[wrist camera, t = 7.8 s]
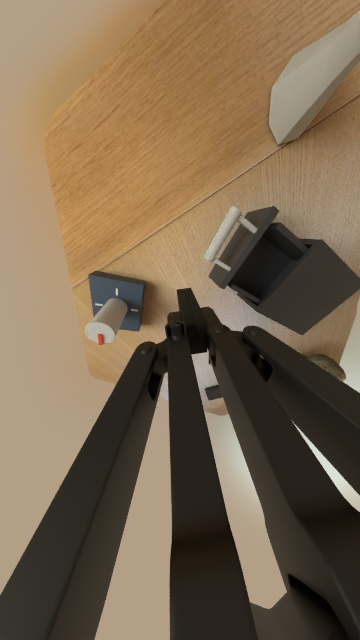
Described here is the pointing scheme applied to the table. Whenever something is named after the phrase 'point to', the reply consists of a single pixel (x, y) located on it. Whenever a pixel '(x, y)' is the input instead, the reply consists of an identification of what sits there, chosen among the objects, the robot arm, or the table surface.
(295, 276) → the drawer cabinet
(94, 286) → the timer panel
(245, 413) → the robot arm
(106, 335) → the timer knob
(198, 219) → the table surface
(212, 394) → the smart home device
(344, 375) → the teapot
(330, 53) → the flask
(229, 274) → the open drawer with handle
